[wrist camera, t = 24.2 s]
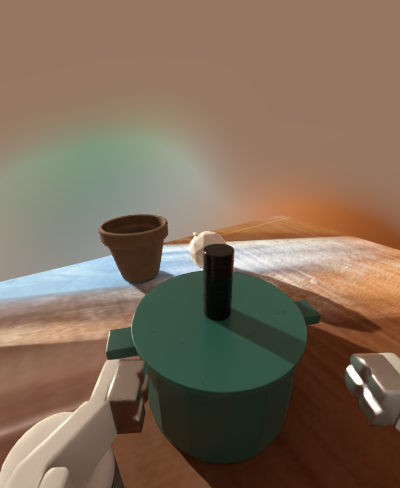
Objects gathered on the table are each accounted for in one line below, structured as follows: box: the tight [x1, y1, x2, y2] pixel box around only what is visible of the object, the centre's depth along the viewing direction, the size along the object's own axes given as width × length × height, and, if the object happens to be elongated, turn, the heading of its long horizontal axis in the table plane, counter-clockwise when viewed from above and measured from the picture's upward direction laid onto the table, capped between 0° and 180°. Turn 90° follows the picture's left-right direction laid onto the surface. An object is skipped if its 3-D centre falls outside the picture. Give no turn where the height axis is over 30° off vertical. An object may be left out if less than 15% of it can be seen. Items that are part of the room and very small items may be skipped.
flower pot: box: [98, 214, 168, 283], centre depth 43 cm, size 12×11×10 cm
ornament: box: [190, 231, 226, 268], centre depth 46 cm, size 7×7×8 cm
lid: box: [131, 244, 307, 397], centre depth 20 cm, size 15×15×7 cm
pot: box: [106, 300, 321, 464], centre depth 23 cm, size 14×19×8 cm
